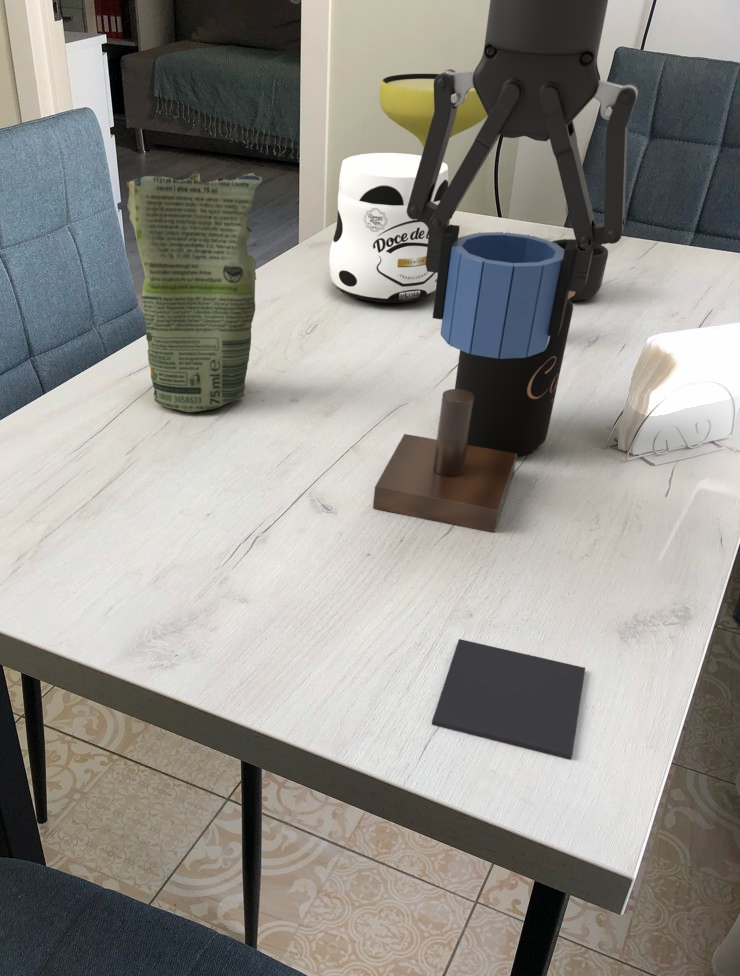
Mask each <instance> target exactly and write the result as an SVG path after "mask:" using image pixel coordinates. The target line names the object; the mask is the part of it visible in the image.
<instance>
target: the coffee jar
mask: <svg viewBox="0 0 740 976" xmlns="http://www.w3.org/2000/svg"><path fill="white" fill-rule="evenodd" d="M574 295H575V292H574V291H569V295H568V300H567V305H566V310H565V314H564V319H563V324H562V327H561V330H560V333H559V335H558V337H553V336H550V340H549V343H548V345H547V348H546V350H544V351H543V352H540V353H537V354H535V355H532V356H529V357H525V358H506V359H500V358H499V357H498V358H491V357H485V356H479V355H472V354H471V353H470V354H468V353H466V352H464V351H461V350H459V354H458V355H459V356H458V362H457V369H456V378H455V385H454V389H462V390H466V391H469V392H471V393H472V394H473V395H474V403H473V410H472V417H471V423H470V430H469V437H468V444H467V445H471V446H476V447H482V448H488V449H494V450H499V451H505V452H511V453H516V454H517V457H516V459H517V458H523V457H525V456H529V455H532V454H533V453H534V452H535V451H537V449H539V447H540V446H541V445H543V444H544V443H545V441H546V440H547V439H546V438H547V436H548V432H549V427H550V423H551V418H552V413H553V408H554V404H555V399H556V394H557V388H558V384H559V379H560V374H561V370H562V365H563V360H564V355H565V351H566V345H567V340H568V336H569V331H570V326H571V323H572V322H571V321H572V316H573V313H574V312H573V311H574V304H573V303H572V302H573V301H571V300H570V299H571V298H572V296H574Z"/></svg>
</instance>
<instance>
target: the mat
mask: <svg viewBox="0 0 740 976" xmlns="http://www.w3.org/2000/svg"><path fill="white" fill-rule="evenodd" d="M585 672H586V667H583V666H579V665H574V664H571V663H567V662H562V661H558V660H553V659H550V658H549V659H548V658H544V657H540V656H535V655H530V654H526V653H522V652H518V651H514V650H510V649H505V648H501V647H496V646H492V645H487V644H483V643H478V642H474V641H470V640H466V639H462V638H458V641H457V644H456V646H455V650H454V653H453V656H452V659H451V662H450V665H449V668H448V671H447V674H446V678H445V681H444V683H443V687H442V689H441V692H440V695H439V699H438V701H437V705H436V707H435V711H434V713H433V717H432V720H431V725H434V726H438V727H442V728H446V729H450V730H454V731H458V732H461V733H466V734H470V735H474V736H478V737H481V738H485V739H489V740H493V741H497V742H501V743H505V744H509V745H513V746H517V747H521V748H525V749H529V750H533V751H537V752H539V753H544V754H549V755H552V756H557V757H560V758H564V759H568V760H571V759H572V757H573V752H574V747H575V746H574V745H575V739H576V731H577V726H578V718H579V712H580V705H581V699H582V691H583V685H584V679H585Z"/></svg>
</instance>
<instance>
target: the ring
mask: <svg viewBox="0 0 740 976" xmlns="http://www.w3.org/2000/svg"><path fill="white" fill-rule="evenodd" d="M552 241H553V240H552ZM552 241H551V240H548V239H544V238H542V237H538V236H535V235H530V234H521V233H515V232H508V231H507V232H506V231H505V232H504V231H493V232H492V231H490V232H489V231H488V232H477V233H476V232H475V233H471V234H467V235H464V236H463V235H462V236H458V238H457V239H456V241H455V242H454V243H453V244H452V247H451V254H450V262H449V270H448V278H447V286H446V294H445V302H444V311H443V318H442V320H441V327H440V336H441V337H442V339H443V340H444V342H446V344H447V345H448V346H449V347H452V348H454V349H456V350H458V351H460V350H461V351H464V352H466V353H468V354H470V353H471V354H472V355H479V356H485V357H491V358H498V357H499V358H500V359H506V358H525V357H529V356H532V355H535V354H537V353H540V352H543V351H544V350H546V348H547V345H548V343H549V340H550V336H548V332H549V327H550V322H551V317H552V312H553V307H554V302H555V296H556V291H557V286H558V281H559V276H560V271H561V266H562V261H563V255H564V249H563V248H561V247H560V246H559V245H557V244H556V243H554V242H552Z"/></svg>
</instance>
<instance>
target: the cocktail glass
mask: <svg viewBox="0 0 740 976" xmlns="http://www.w3.org/2000/svg"><path fill="white" fill-rule="evenodd" d="M439 74H440V73H405V74H404V73H403V74H395V75H389V76H386V77H384V78H382V80H381V82H380V87H379V95H378V96H379V97H378V98H379V105H380V109H381V110H382V112H383V113H384V114H385V115H386V116H387V117H388V118H389V119H390V120H391V121H392V122H394V123H395V124H396V125H398V126H400V127H401V128H403V129H404V130H406V131H407V132H409V133H411V134H412V135H413V136H414V137H416V138H417V139H418V140H419V142H420V144H421V146H422V149H424V146H425V143H426V139H427V136H428V132H429V128H430V125H431V121H432V118H433V114H434V80H435V78H436V77H437V76H438V75H439ZM487 117H488V115H487V113H486V111H485V109H484V107H483V105H482V103H481V101H480V99H479V97H478V95H477V93H476V91H475V88H471V89H470V90H469V91H468V94H467V98H466V100H465V102H464V103H462V104H461V105H460V106H458V108H457V114H456V118H455V121H454V125H453V128H452V131H451V135H450V138H449V139H451V138H452V137H454V136H456V135H457V134H460V133H462V132H464V131H466V130H469V129H471V128H472V127H474V126H476V125H478V124H479V123H481V122H482V121H484V120H486V119H487Z"/></svg>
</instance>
